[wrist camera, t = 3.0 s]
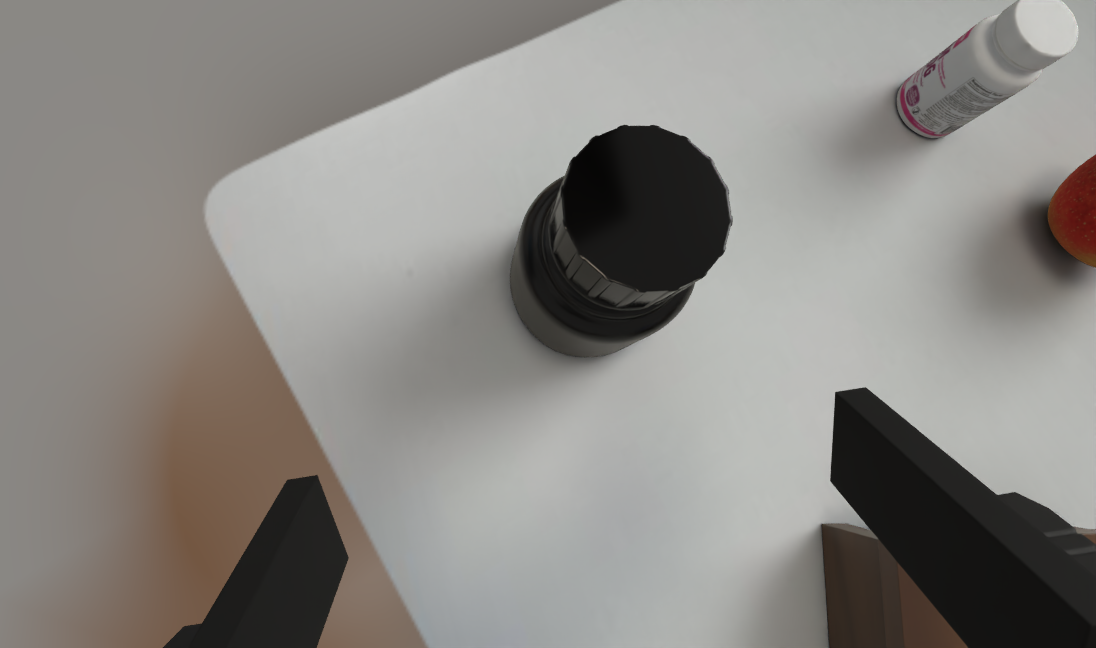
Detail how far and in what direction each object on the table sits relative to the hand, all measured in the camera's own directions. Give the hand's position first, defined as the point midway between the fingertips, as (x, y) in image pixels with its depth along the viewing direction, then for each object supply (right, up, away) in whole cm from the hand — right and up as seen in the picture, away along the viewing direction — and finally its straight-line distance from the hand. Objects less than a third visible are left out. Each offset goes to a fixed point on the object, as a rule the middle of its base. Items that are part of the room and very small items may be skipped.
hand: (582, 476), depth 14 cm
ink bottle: (+1, +6, +19) cm, 20 cm away
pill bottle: (+25, +19, +25) cm, 40 cm away
